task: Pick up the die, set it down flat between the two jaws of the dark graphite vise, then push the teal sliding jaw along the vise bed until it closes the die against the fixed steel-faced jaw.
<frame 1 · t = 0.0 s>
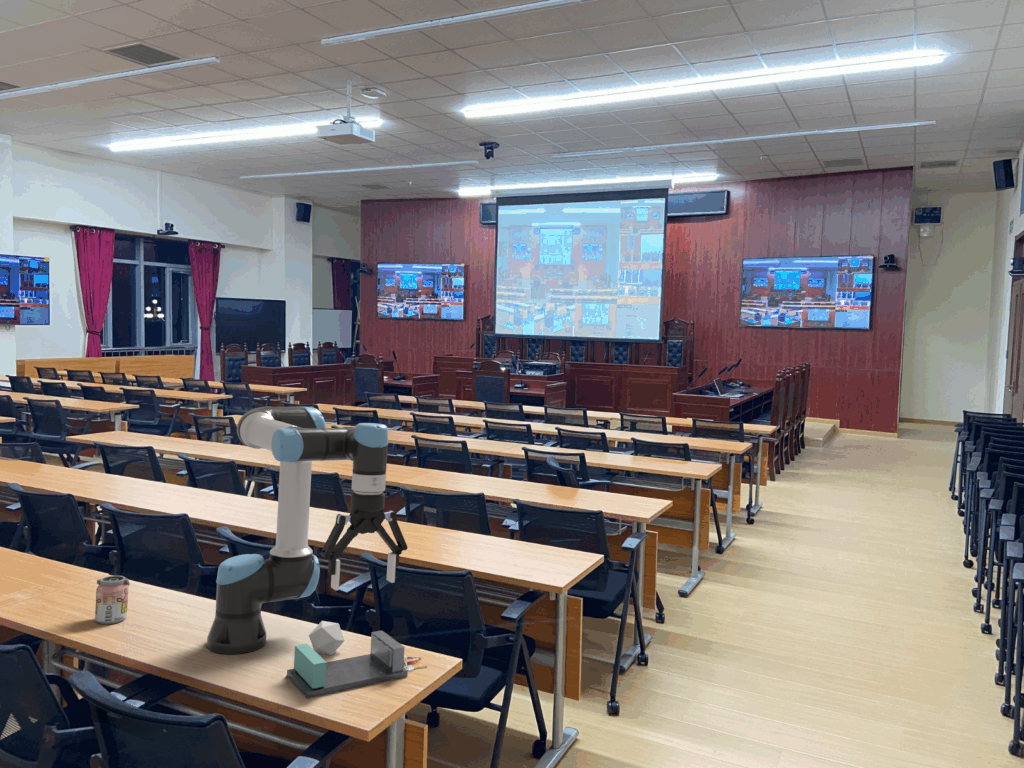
hand: (363, 585, 168), 28 cm above the table, tool pointing down, fingers open, 13 cm apart
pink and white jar: (111, 620, 213), on the table
vise base: (347, 676, 184), on the table
die: (325, 652, 199), on the table
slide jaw: (310, 665, 178), point 5 cm above the table, slide at 0.0 cm
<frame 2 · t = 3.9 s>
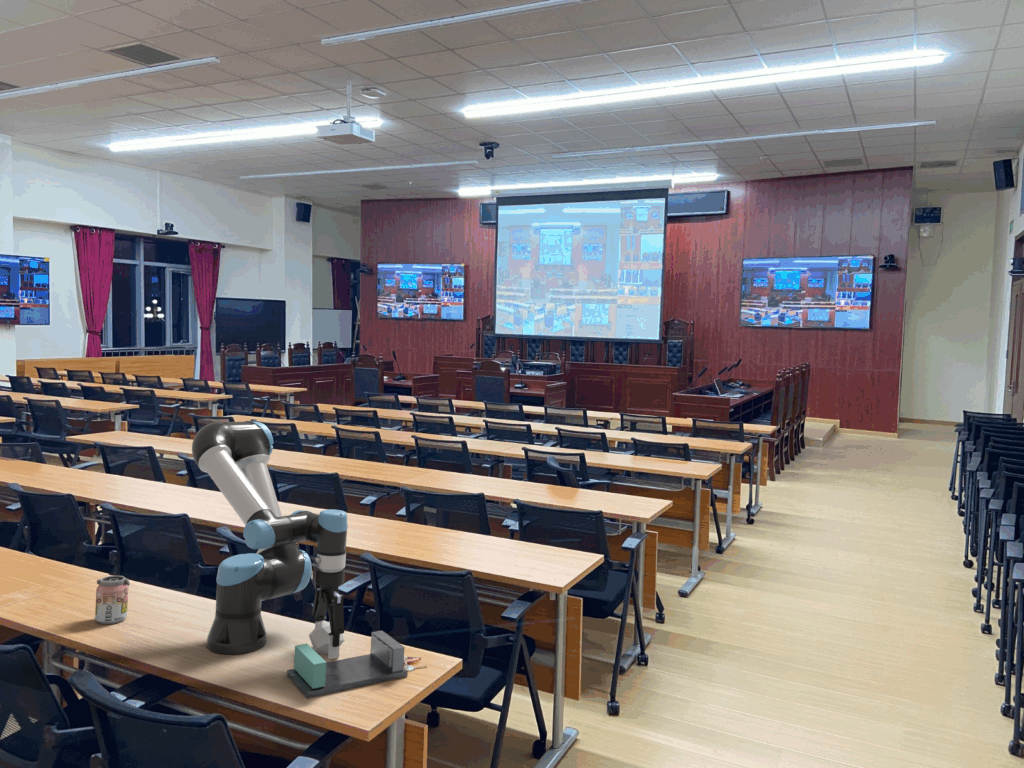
hand: (326, 651, 199), 0 cm above the table, tool pointing down, fingers open, 9 cm apart
die: (326, 652, 199), on the table, touching gripper
everything else where it was.
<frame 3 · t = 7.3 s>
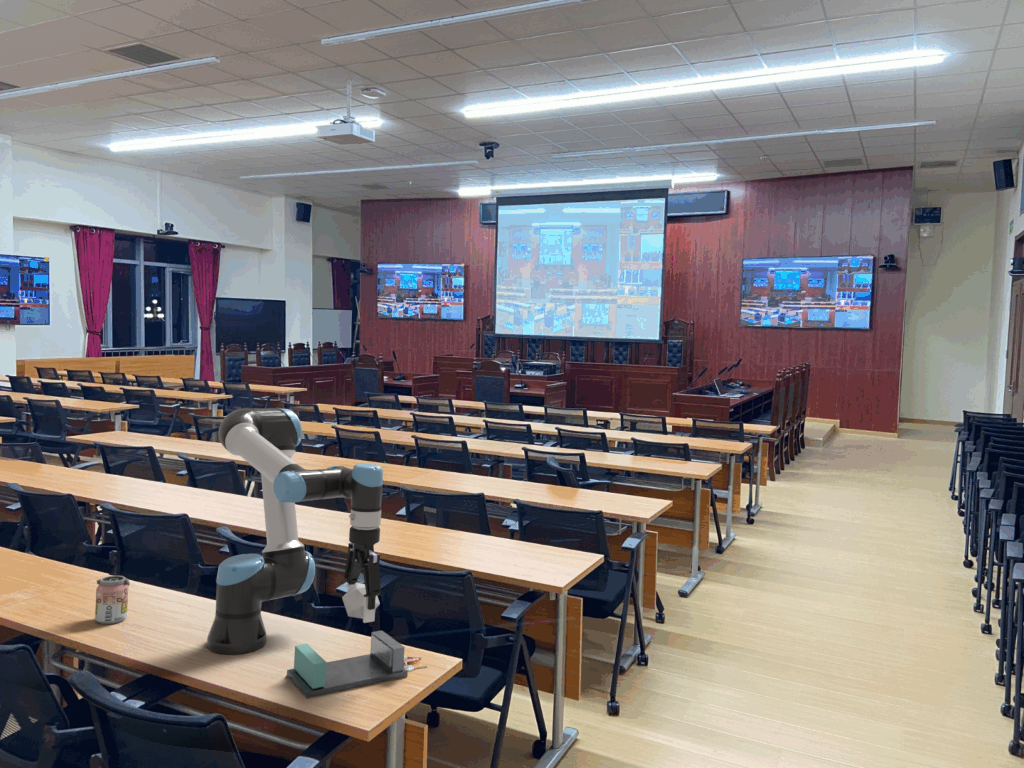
hand: (360, 615, 185), 15 cm above the table, tool pointing down, fingers closed on die, 9 cm apart
die: (360, 616, 185), point 15 cm above the table, touching gripper
everything else where it was.
when the fingers open (3 cm above the table, at t = 9.9 s): die drops 1 cm, resting on vise base.
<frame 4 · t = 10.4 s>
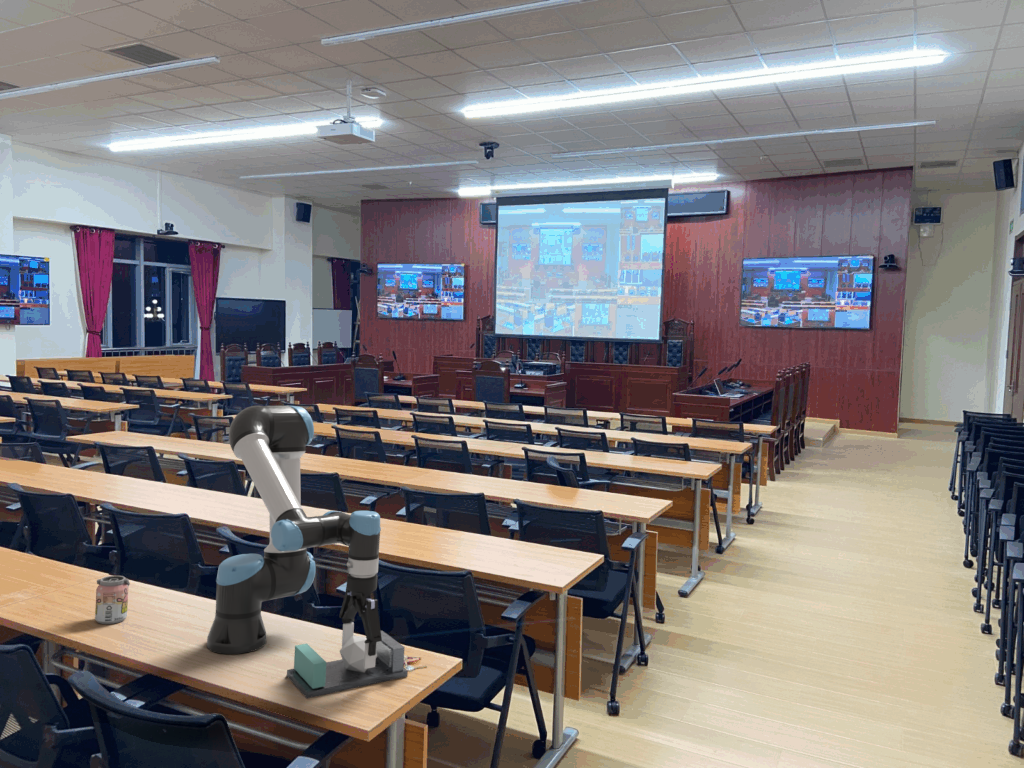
hand: (357, 657, 186), 4 cm above the table, tool pointing down, fingers open, 13 cm apart
die: (357, 669, 185), point 1 cm above the table, touching vise base
everything else where it was.
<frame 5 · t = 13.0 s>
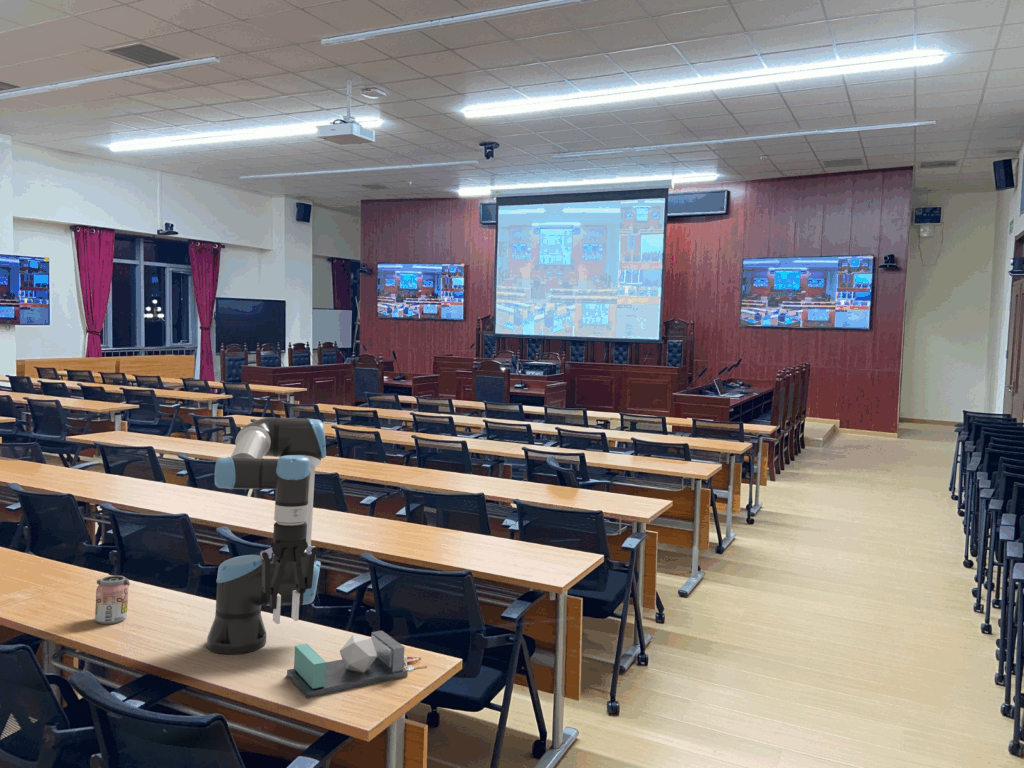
hand: (285, 620, 174), 17 cm above the table, tool pointing down, fingers open, 4 cm apart
nothing on the table moved.
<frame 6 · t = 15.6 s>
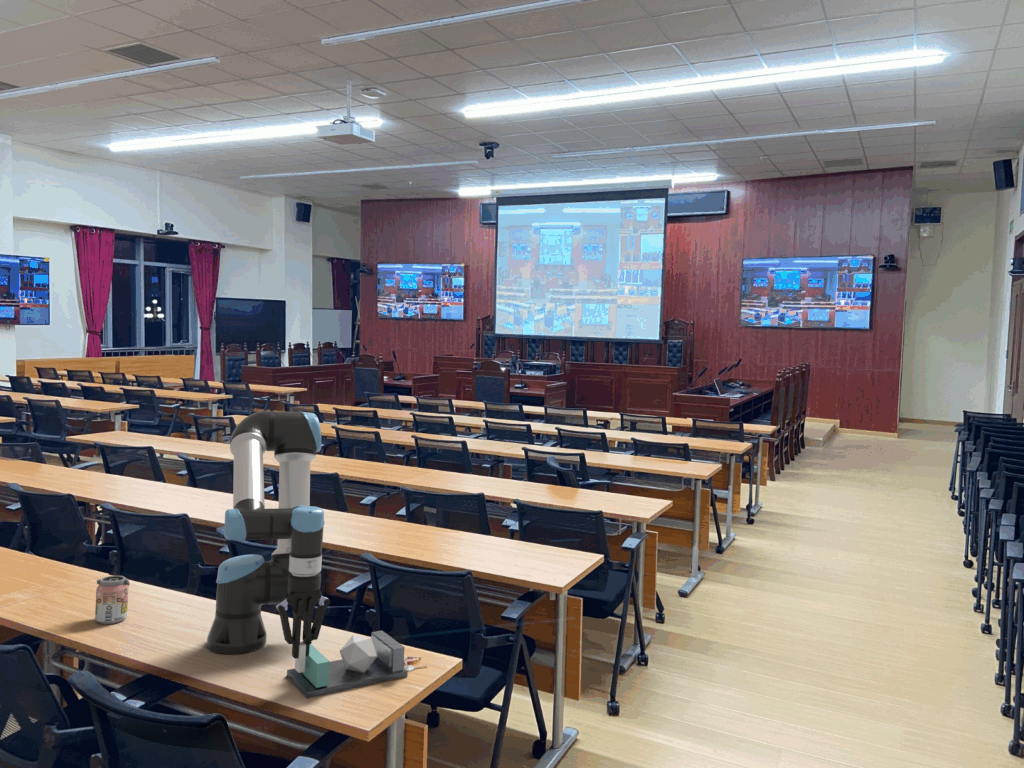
hand: (299, 670, 177), 4 cm above the table, tool pointing down, fingers closed
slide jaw: (313, 664, 179), point 5 cm above the table, slide at 0.8 cm, touching gripper
everything else where it was.
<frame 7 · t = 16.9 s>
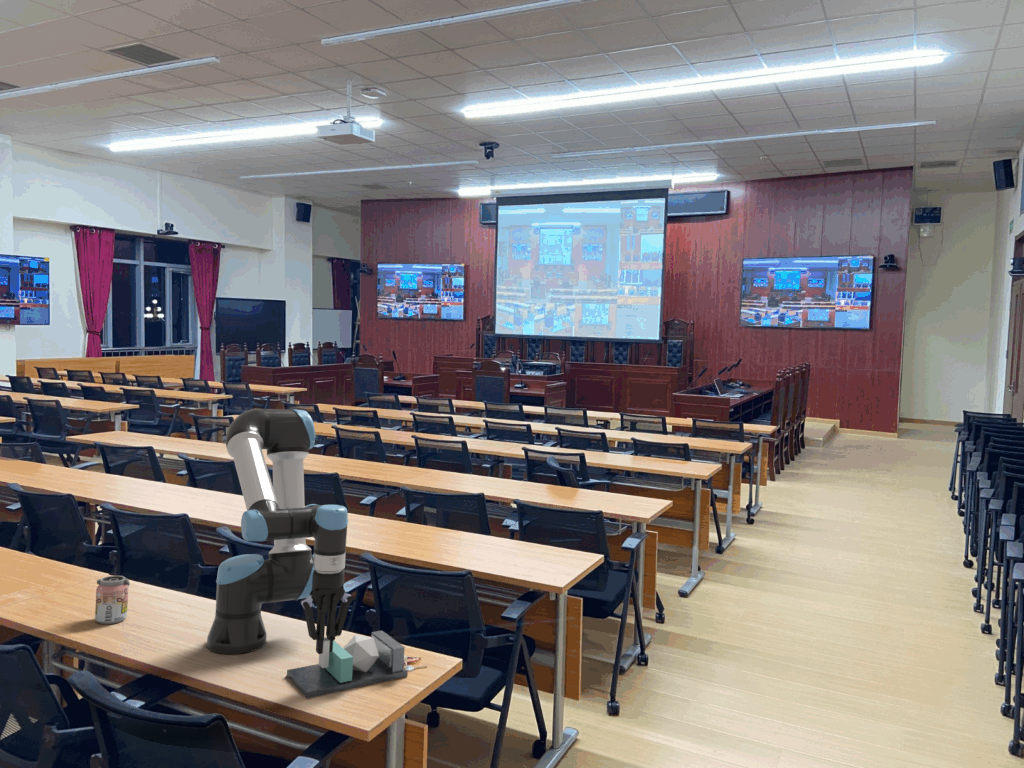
hand: (323, 665, 180), 4 cm above the table, tool pointing down, fingers closed
die: (359, 669, 186), point 1 cm above the table, touching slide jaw
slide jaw: (336, 660, 182), point 5 cm above the table, slide at 6.7 cm, touching die, gripper
everything else where it was.
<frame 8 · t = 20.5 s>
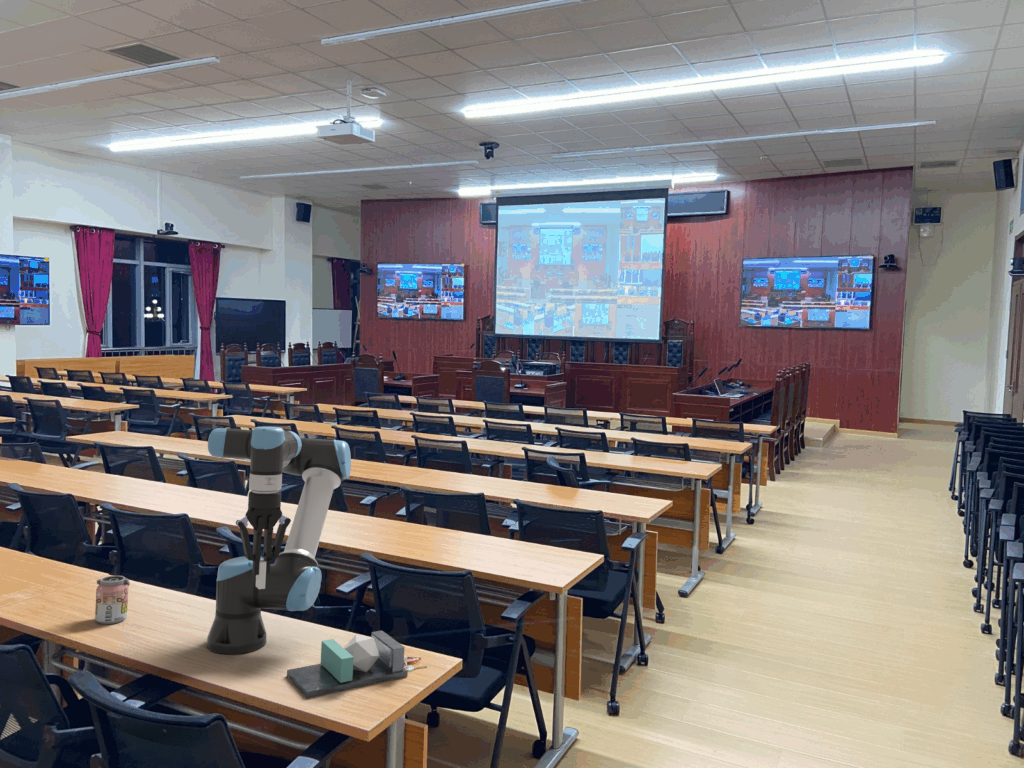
hand: (260, 587, 179), 22 cm above the table, tool pointing down, fingers closed
die: (360, 669, 186), point 1 cm above the table, touching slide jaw, vise base
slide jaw: (337, 660, 182), point 5 cm above the table, slide at 6.8 cm, touching die
everything else where it was.
at the end: die 0.3 cm from the target spot, point 1.3 cm above the table; die tilted 1°; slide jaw slide at 6.8 cm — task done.
